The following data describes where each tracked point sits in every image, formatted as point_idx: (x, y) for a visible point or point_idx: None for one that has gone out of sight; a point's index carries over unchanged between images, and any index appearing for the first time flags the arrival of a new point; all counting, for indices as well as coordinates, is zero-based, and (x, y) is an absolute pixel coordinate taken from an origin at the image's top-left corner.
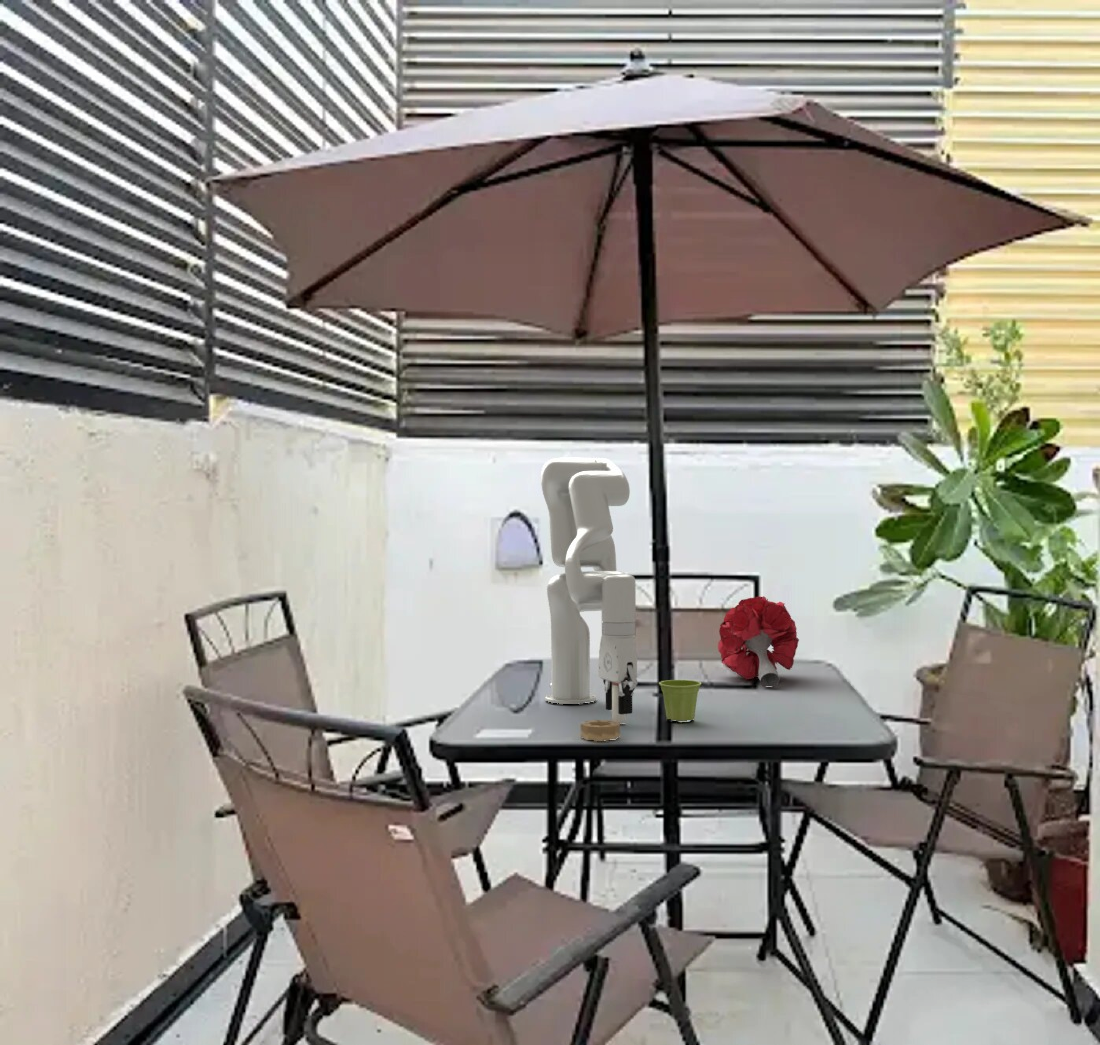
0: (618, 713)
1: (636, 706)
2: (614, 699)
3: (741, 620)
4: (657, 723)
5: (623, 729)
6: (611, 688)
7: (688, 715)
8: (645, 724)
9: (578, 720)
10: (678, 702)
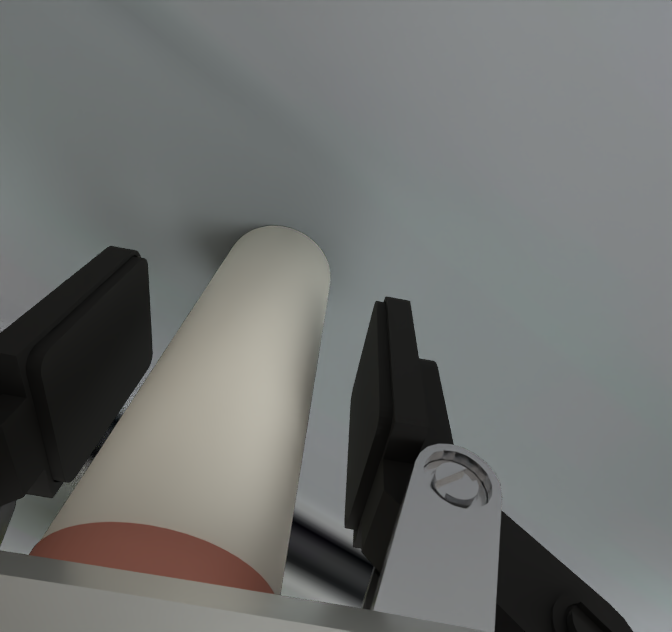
0: (208, 286)
1: (626, 620)
2: (193, 347)
3: None
4: None
5: (66, 164)
6: (389, 527)
7: None
8: None
9: (661, 109)
10: None
